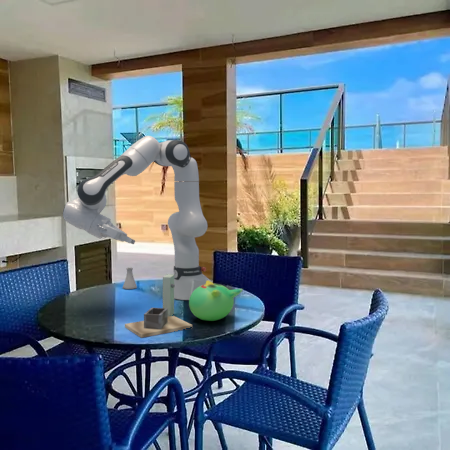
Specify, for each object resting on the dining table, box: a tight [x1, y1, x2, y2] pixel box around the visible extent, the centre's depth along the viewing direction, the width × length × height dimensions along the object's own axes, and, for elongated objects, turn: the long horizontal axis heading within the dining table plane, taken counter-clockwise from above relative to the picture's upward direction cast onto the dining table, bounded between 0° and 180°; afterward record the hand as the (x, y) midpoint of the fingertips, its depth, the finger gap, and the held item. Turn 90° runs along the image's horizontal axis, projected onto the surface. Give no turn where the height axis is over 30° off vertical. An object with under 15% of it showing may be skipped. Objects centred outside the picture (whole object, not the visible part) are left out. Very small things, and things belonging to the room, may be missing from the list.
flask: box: [122, 267, 138, 290], centre depth 233 cm, size 7×7×10 cm
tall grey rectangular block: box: [162, 273, 175, 317], centre depth 185 cm, size 6×4×16 cm
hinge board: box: [124, 307, 193, 339], centre depth 170 cm, size 20×14×6 cm
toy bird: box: [188, 280, 244, 322], centre depth 181 cm, size 18×17×15 cm
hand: (132, 242), depth 187 cm, fingers open, 8 cm apart
